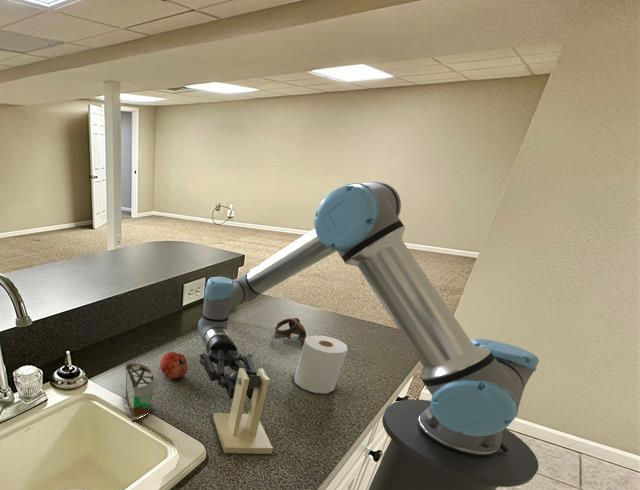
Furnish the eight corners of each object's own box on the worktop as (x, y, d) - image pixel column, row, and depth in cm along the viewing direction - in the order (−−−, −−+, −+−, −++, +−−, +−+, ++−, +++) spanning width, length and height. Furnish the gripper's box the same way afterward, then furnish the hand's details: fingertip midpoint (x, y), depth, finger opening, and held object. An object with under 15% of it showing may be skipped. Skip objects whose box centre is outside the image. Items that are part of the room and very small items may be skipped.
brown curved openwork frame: (306, 350, 127) (298, 329, 124) (276, 354, 133) (268, 335, 130) (311, 328, 135) (304, 308, 131) (283, 333, 141) (275, 314, 137)
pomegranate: (154, 382, 111) (170, 377, 102) (151, 356, 112) (167, 348, 103) (178, 380, 114) (196, 375, 105) (175, 355, 115) (192, 348, 106)
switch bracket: (213, 418, 94) (223, 358, 86) (255, 419, 94) (269, 360, 86) (224, 452, 84) (236, 389, 76) (271, 453, 84) (289, 390, 76)
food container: (159, 424, 91) (163, 387, 86) (133, 426, 90) (135, 389, 85) (148, 394, 102) (151, 360, 97) (124, 396, 101) (125, 361, 96)
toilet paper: (292, 387, 107) (303, 347, 101) (296, 370, 115) (306, 332, 109) (333, 397, 103) (347, 356, 97) (334, 379, 111) (347, 340, 105)
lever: (226, 386, 95) (227, 371, 95) (241, 386, 95) (242, 371, 95) (245, 390, 81) (246, 372, 81) (263, 390, 81) (263, 372, 81)
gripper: (247, 359, 111) (275, 408, 91) (188, 358, 111) (202, 407, 90) (252, 334, 108) (282, 380, 87) (190, 333, 107) (206, 378, 87)
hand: (241, 393), depth 89 cm, fingers closed on lever, 3 cm apart
